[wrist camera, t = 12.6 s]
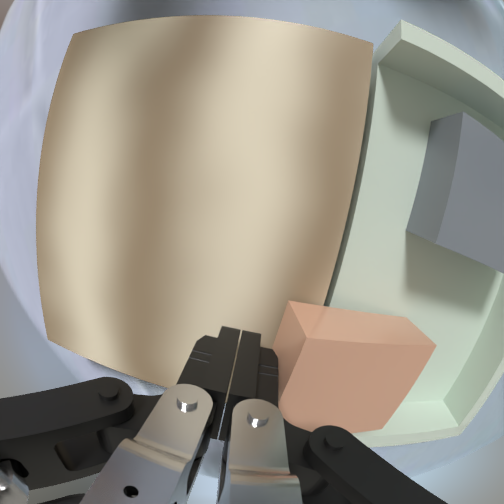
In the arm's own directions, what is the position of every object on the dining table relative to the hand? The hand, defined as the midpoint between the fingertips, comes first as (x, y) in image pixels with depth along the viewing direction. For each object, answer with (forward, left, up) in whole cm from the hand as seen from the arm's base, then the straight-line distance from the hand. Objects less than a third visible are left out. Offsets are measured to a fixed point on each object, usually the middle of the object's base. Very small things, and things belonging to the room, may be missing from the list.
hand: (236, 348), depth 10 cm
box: (-9, -4, -4) cm, 11 cm away
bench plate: (+4, -4, -4) cm, 7 cm away
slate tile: (-9, -8, -2) cm, 12 cm away
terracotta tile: (-4, 0, -1) cm, 4 cm away
